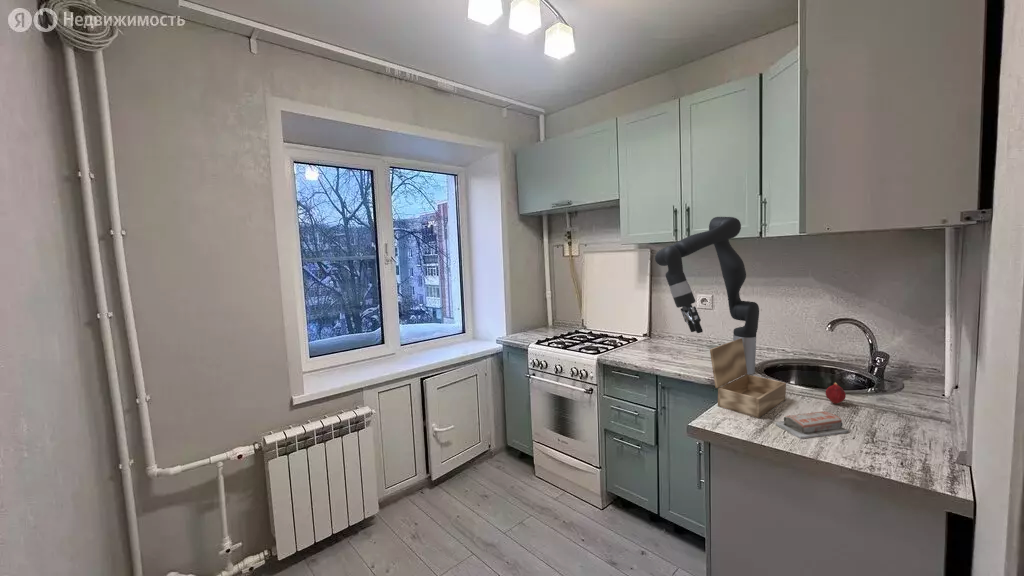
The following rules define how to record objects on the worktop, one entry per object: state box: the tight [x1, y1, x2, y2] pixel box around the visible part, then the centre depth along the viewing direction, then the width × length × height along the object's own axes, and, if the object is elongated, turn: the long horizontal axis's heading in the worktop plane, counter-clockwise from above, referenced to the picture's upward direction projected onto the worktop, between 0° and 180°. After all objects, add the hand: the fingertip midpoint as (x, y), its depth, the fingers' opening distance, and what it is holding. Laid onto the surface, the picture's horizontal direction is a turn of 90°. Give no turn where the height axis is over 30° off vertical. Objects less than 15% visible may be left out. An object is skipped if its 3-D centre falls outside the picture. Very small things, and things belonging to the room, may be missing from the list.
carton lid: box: [709, 338, 747, 389], centre depth 158 cm, size 14×25×1 cm
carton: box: [717, 374, 787, 419], centre depth 152 cm, size 14×24×7 cm, turn 127°
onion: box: [825, 382, 847, 405], centre depth 150 cm, size 6×6×8 cm
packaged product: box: [775, 410, 850, 440], centre depth 131 cm, size 18×5×10 cm
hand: (696, 332), depth 161 cm, fingers open, 8 cm apart
